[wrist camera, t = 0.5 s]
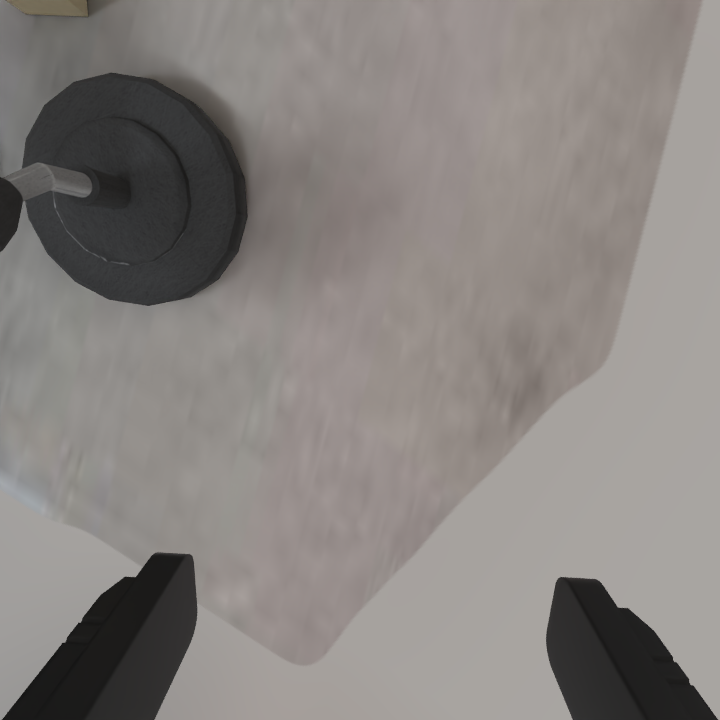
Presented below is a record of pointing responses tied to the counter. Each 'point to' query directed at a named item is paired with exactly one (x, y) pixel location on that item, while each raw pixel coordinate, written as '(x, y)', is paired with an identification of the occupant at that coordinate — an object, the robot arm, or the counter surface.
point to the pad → (52, 7)
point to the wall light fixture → (129, 190)
